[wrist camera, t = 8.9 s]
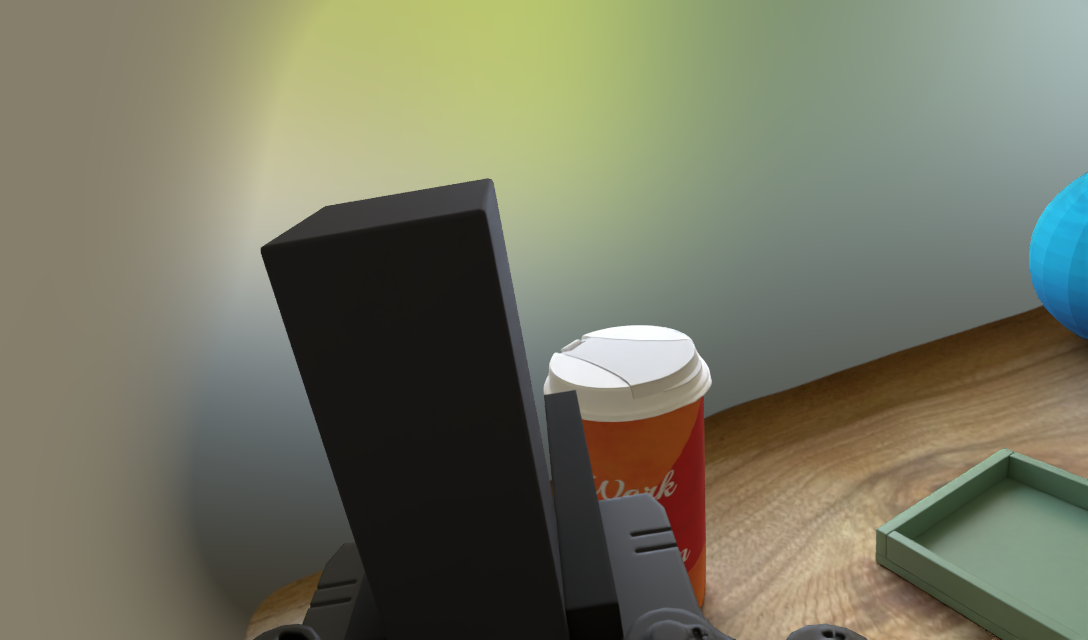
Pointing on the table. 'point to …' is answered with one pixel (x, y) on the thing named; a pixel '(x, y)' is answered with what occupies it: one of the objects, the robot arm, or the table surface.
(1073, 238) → the decorative orb
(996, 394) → the table surface
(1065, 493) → the green rectangular tray
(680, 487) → the paper cup
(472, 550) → the sponge wand
